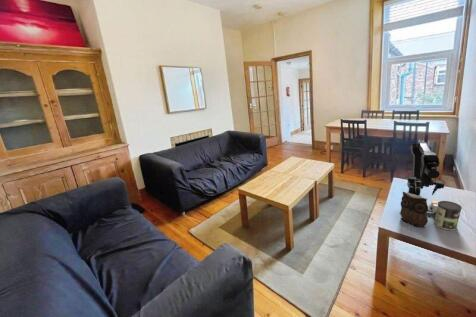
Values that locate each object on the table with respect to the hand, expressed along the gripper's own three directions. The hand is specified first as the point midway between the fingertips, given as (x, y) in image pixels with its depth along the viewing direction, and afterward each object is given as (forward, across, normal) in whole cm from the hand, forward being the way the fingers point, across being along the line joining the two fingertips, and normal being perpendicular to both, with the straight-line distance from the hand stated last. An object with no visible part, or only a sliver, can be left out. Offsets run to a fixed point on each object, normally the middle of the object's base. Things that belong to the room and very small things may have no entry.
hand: (423, 193), depth 152 cm
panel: (+11, +10, -3) cm, 15 cm away
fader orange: (+9, +6, -1) cm, 11 cm away
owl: (+11, -1, -21) cm, 24 cm away
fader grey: (+9, +8, -5) cm, 13 cm away
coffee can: (+11, +13, -15) cm, 23 cm away
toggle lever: (+9, +6, -8) cm, 14 cm away
